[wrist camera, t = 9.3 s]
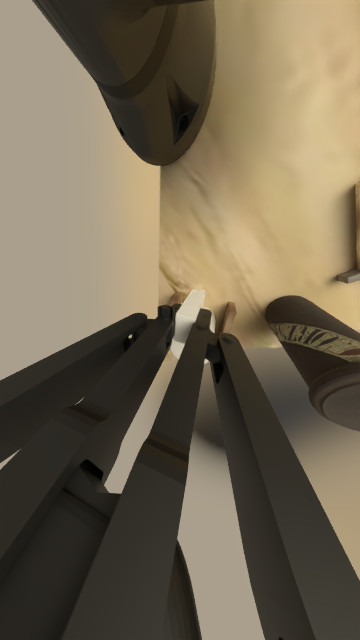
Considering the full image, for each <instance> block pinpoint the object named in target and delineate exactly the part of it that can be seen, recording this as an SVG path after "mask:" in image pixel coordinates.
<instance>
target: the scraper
mask: <svg viewBox="0 0 360 640" xmlns="http://www.w3.org/2000/svg"><path fill="white" fill-rule="evenodd" d="M355 193H356V250H357V269H355V270H352V271H349V272H345V273H342V274H339V275H337V278H338V281H341V282H345V283H352V282H355V281H358V280H360V182H359V183H357V184H355Z"/></svg>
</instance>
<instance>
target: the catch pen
mask: <svg viewBox="0 0 360 640" xmlns="http://www.w3.org/2000/svg"><path fill="white" fill-rule="evenodd" d="M175 303H177V304H180V303H181V293H180V292H176V293H175V294H174V295H173V296H172V297H171V298H170V306H172V305H173V304H175ZM235 315H236V308H235V303H232V302H229V304H228V307H227V310H226V313H225V316H224V319H223V322H222V326H221V329H220V332H219V335H220V334H222V333H229V331H230V328H231V325H232V323H233V320H234V317H235Z"/></svg>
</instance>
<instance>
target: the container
mask: <svg viewBox="0 0 360 640" xmlns="http://www.w3.org/2000/svg"><path fill="white" fill-rule="evenodd" d="M265 316H266V320H267V322H268V324H269V326H270V327H271V329H272V330H273V332H274V334H275V335H276V337H277V338H278V340H279V341H280V343H281V344H282V346H283V348H284V349H285V351H286V352H287V354H288V355H289V357H290V358H291V360H292V361H293V363H294V365H295V366H296V368H297V369H298V371H299V373H300V374H301V376H302V377H303V379H304V381H305V382H306V384H307V385H308V387H309V400H310V402H311V404H312V406H313V407H314V408H315V409H316V410H317V412H318V413H320V414H321V415H322V416H324V417H325V418H326V419H328V420H330V421H332V422H334V423H336V424H338V425H341V426H343V427H346V428H349V429H352V430H356V431H360V333H358V332H357V331H355V330H354V329H352V328H350V327H349V326H347V325H346V324H344V323H343V322H341V321H339V320H338V319H336V318H335V317H333V316H332V315H330V314H329V313H327V312H326V311H324V310H323V309H321V308H320V307H318V306H317V305H315V304H314V303H312V302H311V301H309V300H307V299H305V298H303V297H300V296H285V297H281V298H279V299H277V300H275V301H273V302H272V303H271V304H270V305H269V306H268V308H267V310H266V314H265Z"/></svg>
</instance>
